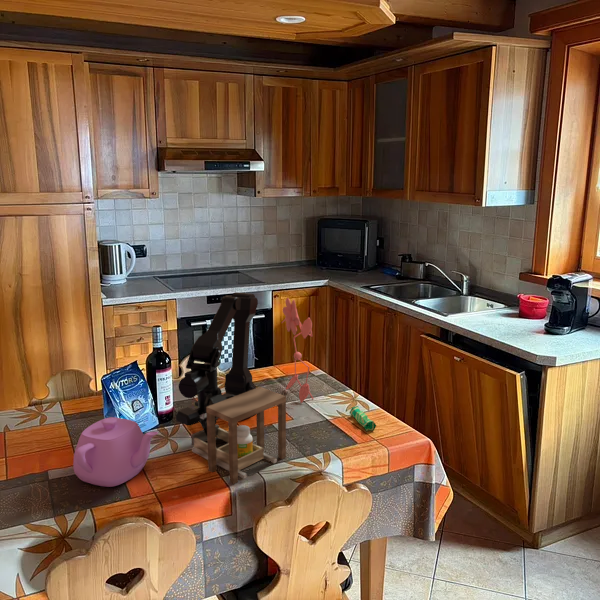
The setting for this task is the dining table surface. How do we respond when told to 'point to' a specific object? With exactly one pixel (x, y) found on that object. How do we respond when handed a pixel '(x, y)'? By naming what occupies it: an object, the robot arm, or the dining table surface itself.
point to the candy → (362, 418)
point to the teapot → (111, 452)
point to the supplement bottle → (244, 441)
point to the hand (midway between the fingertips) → (209, 436)
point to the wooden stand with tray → (232, 413)
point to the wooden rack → (226, 448)
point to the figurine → (291, 323)
